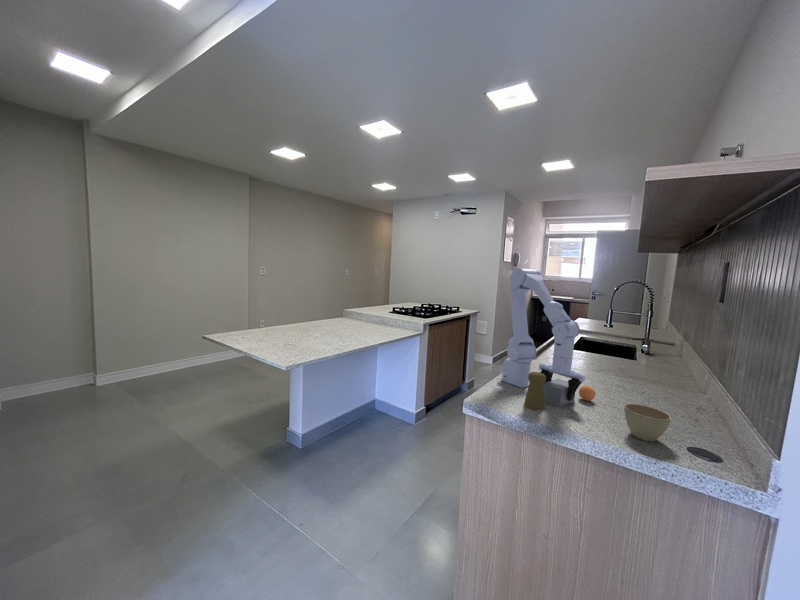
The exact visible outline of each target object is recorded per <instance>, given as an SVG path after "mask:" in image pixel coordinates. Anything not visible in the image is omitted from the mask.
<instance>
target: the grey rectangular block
mask: <svg viewBox="0 0 800 600" xmlns="http://www.w3.org/2000/svg"><path fill="white" fill-rule="evenodd" d="M543 387H544V403H546V404H548V403H549V405H551V404H552V405H551V406H555V407H557V408H559V407H560V408H562V407H564V406H566V405H568V404H572V403H573V402H575V397H576V393H575V394H574V396H573V399H572V400H571V401H568V389H569V388H568V380H564V379H561V378H555V379H551V381H548V382H545V384H544V385H543Z"/></svg>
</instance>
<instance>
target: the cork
mask: <svg viewBox="0 0 800 600" xmlns="http://www.w3.org/2000/svg"><path fill="white" fill-rule="evenodd" d="M528 380H529V386H527V387H528V388H527V390H526V391H527V392H526V395H525V399H524V403H523V406H524V407H525V406H526V407H525V408H527V409H529V408H530V409H529V410H532V411H537V410H542V411H544V410H545V402H544V387H543V385H544V384H545V382H546V376H545V375H544V374H542V373H540V372H537V371H530V373H529V375H528ZM543 409H544V410H543Z"/></svg>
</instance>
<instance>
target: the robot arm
mask: <svg viewBox="0 0 800 600" xmlns="http://www.w3.org/2000/svg"><path fill="white" fill-rule="evenodd" d="M509 280H510V287H509V288H510V289H509V296H510V310H511V320H512V321H511V323H512V334H513V336H512V337H511V338H509V340H508V342H507V343H508V346H507V349H506V353H507V356H508V357H507V358H505V360H504V361H503V363H502V364H503V365H502V374H501V379H500V381H502V382H505V383H508V384H510V385H513V386H516V387H519V388H521V389H522V388H525V387H528V386H529V380H528V375H529V373H531V365H532V364H531V363H532V362H533V360H534V359H535V358H536V356H537V348H536V346H535V343H534V341H535V340H534V339H533V338H532V337H531V336H530V335H529V327H528V326H529V325H528V313H527V304H526V303H527V302H526V301H527V300H526V295H527V294H528V292H529V291H531V290H532V291H533V292H534V293H535V295H536V296H537V297H538V299H539V301H540V302H541V304H542V305H543V306H544V307H543V312H544V314H545V315H546V317H547V319H548V320H549V322H550V324H551V326H552V327H551V333H552V334H553V342H554V345H553V346H554V347H553V355H552V364H551V365H550V364H545V363H539V364H538V370H539V371H540V372H539V373H542V374H544V375H545V376H546V382H548V381H551V380H553V375H555V374H556V375H558V376H562V377H565V378H569V379H568V380H567V381H568V388H569V389H568V401H571V400H572V399H573V396H574V394H575V395H576V392H577V391H578V389H579V388H580V387H581V385H582V383H583V382H585V381H586V375H585V374H582V373H580V372H576V371H574V370H572V364H573V355H574V347H575V338H578V336H579V334H580V326H579V323H578V322H577V321H575V320H572V319H571V318H570V316H569V315H568V314H567V312H566V311H565V309H564V306H563V304H562V303H560V302H558V301H555V300H554V299H553V297H552V295H551V293H550V291H549V290H548V288H547V286H546V284H545V282H544V276H543V275H542V273H541V272H540V271H539V270H538V269H528V268H519V267H517V268H515V269H514V270H513V271H512V272H511V273H510V275H509Z"/></svg>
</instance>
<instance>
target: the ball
mask: <svg viewBox="0 0 800 600" xmlns="http://www.w3.org/2000/svg"><path fill="white" fill-rule="evenodd" d="M578 395H579V397H580V398H581V399H582V400H584V401H587V402H588V401H589V402H590V401H593V400H594V399H595V398H596V390H595V389H594V388H593V387H592V386H590V385H583V386H580V387H579V388H578Z"/></svg>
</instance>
